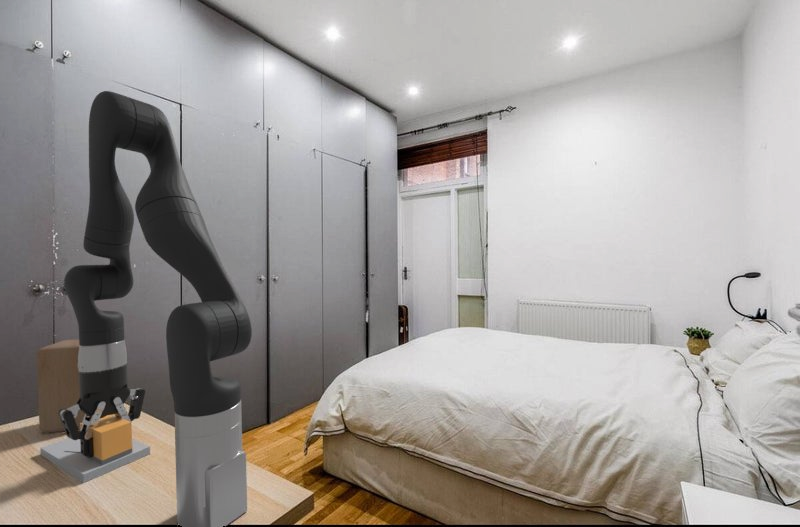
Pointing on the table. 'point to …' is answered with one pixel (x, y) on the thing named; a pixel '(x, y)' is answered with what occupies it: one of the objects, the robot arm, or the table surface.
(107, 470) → the board
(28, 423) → the table surface
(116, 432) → the block
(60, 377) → the block
